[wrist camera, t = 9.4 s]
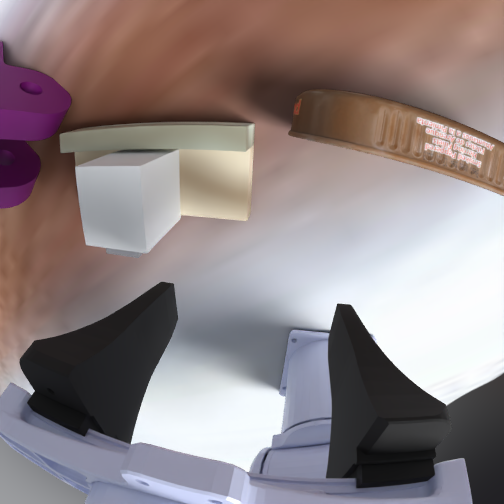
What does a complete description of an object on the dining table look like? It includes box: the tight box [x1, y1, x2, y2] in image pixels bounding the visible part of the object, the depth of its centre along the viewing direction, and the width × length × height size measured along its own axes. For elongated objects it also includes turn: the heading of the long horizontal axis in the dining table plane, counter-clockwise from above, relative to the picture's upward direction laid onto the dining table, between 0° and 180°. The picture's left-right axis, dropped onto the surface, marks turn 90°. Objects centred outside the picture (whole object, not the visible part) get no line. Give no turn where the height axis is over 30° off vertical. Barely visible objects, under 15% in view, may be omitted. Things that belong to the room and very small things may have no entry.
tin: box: [288, 89, 504, 196], centre depth 14 cm, size 15×3×8 cm, turn 83°
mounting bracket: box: [0, 41, 71, 208], centre depth 19 cm, size 10×8×18 cm
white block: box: [75, 149, 181, 258], centre depth 19 cm, size 6×4×6 cm
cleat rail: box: [59, 122, 255, 221], centre depth 20 cm, size 6×14×3 cm, turn 87°
